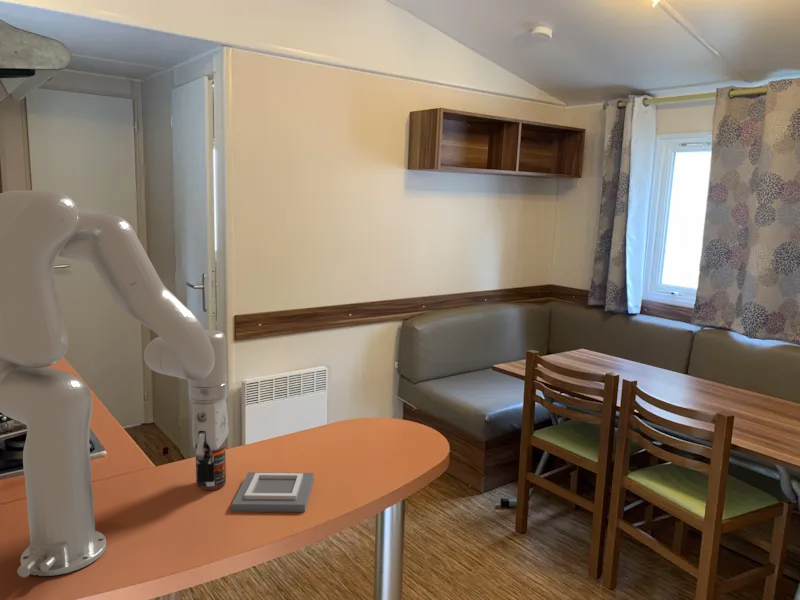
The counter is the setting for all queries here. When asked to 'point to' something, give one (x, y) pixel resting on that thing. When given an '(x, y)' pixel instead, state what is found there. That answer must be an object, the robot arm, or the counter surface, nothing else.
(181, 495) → the counter surface
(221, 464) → the supplement bottle
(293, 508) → the socket plate
